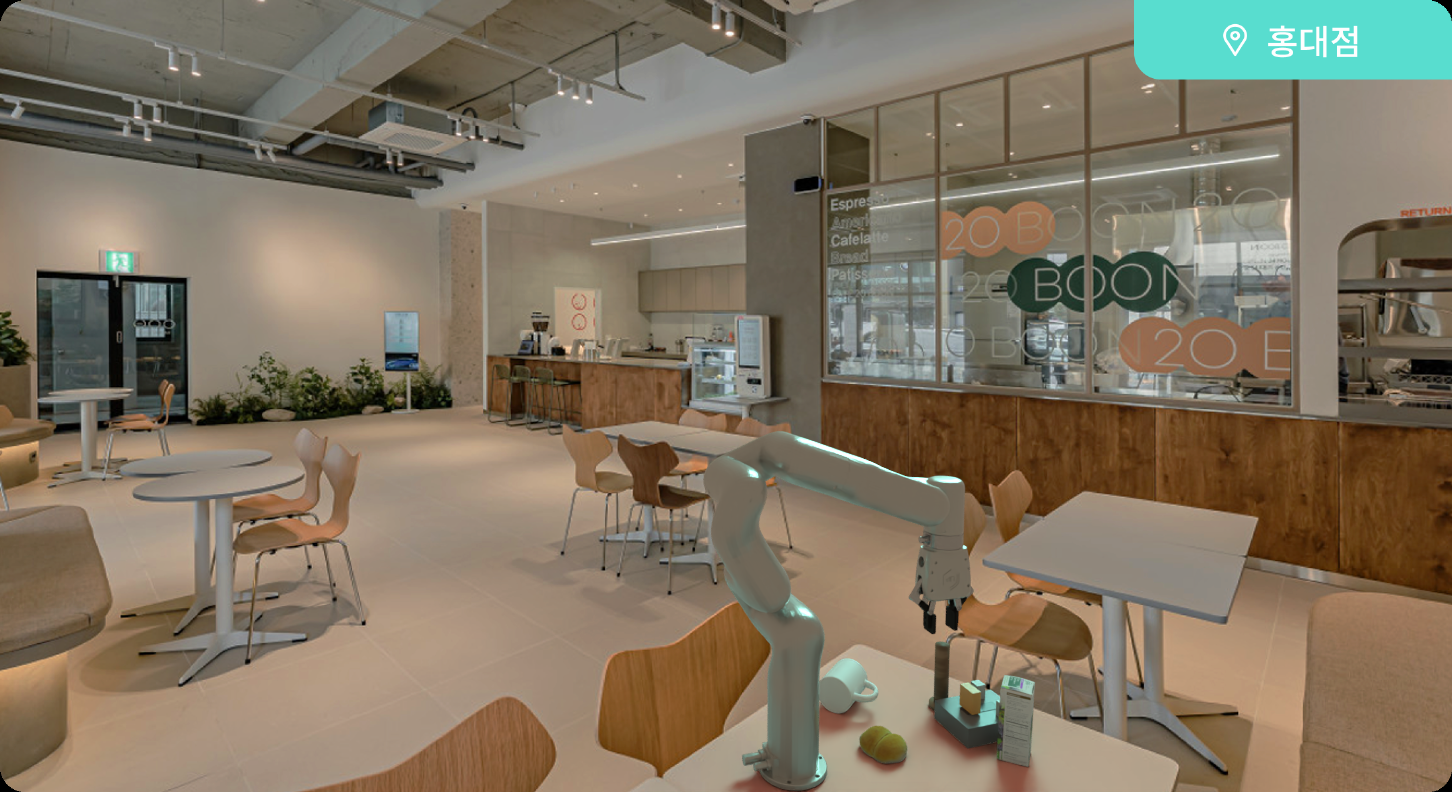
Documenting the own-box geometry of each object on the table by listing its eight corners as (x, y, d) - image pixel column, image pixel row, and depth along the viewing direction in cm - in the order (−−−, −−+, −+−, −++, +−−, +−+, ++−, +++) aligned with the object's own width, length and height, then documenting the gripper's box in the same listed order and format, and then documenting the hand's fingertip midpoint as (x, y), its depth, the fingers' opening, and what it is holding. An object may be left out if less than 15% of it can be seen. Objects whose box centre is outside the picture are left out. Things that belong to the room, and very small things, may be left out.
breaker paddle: (971, 714, 138) (972, 693, 138) (959, 704, 142) (960, 683, 142) (980, 713, 139) (981, 691, 138) (967, 703, 143) (968, 682, 142)
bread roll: (891, 771, 128) (891, 751, 127) (852, 749, 134) (853, 730, 134) (916, 753, 133) (917, 734, 133) (878, 733, 140) (879, 714, 139)
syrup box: (999, 743, 136) (1002, 673, 134) (1032, 751, 133) (1035, 680, 132) (996, 759, 131) (998, 686, 129) (1030, 768, 128) (1033, 694, 127)
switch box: (967, 748, 134) (968, 714, 134) (934, 718, 145) (935, 686, 144) (1026, 735, 138) (1027, 702, 138) (990, 707, 149) (991, 676, 148)
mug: (816, 707, 149) (816, 672, 148) (834, 687, 157) (834, 653, 157) (869, 724, 143) (870, 687, 142) (885, 702, 151) (886, 667, 150)
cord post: (937, 714, 146) (939, 651, 145) (924, 702, 151) (925, 641, 149) (957, 710, 148) (959, 648, 146) (943, 698, 152) (945, 638, 151)
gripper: (916, 549, 129) (914, 643, 130) (991, 541, 134) (988, 631, 135) (895, 538, 136) (893, 627, 137) (967, 530, 141) (964, 616, 142)
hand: (940, 628), depth 136 cm, fingers open, 4 cm apart
